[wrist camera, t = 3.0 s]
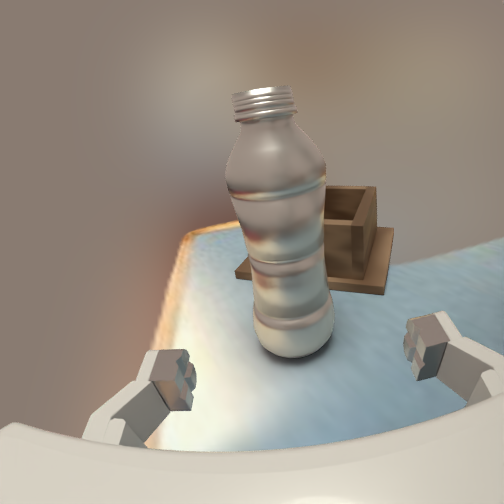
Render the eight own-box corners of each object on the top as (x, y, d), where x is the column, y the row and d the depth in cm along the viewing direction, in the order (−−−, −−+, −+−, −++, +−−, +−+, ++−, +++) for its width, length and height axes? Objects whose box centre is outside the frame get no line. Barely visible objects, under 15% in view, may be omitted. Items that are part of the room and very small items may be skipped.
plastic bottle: (250, 330, 29) (200, 101, 20) (316, 308, 30) (291, 87, 21) (271, 379, 23) (214, 95, 14) (349, 350, 24) (334, 80, 15)
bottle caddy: (393, 234, 40) (393, 185, 37) (383, 294, 30) (386, 231, 26) (280, 228, 48) (273, 184, 45) (236, 278, 38) (224, 223, 34)
